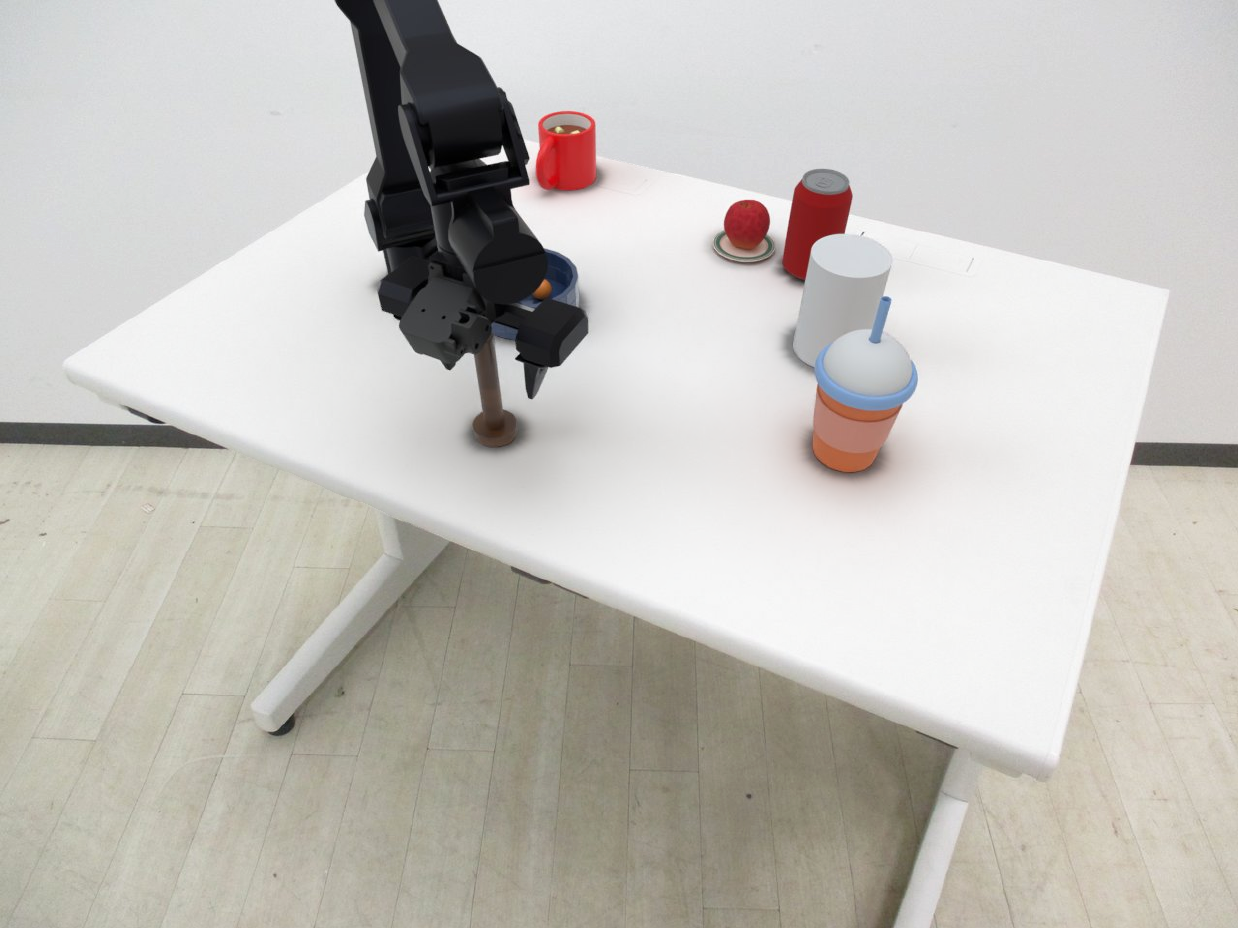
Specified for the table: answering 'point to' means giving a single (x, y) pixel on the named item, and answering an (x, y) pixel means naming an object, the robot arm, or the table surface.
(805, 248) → the beverage can
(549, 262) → the bowl
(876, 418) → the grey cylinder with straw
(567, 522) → the table surface
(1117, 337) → the table surface
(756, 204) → the apple
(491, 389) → the muddler
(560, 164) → the mug
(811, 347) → the grey cylinder
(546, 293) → the bead
